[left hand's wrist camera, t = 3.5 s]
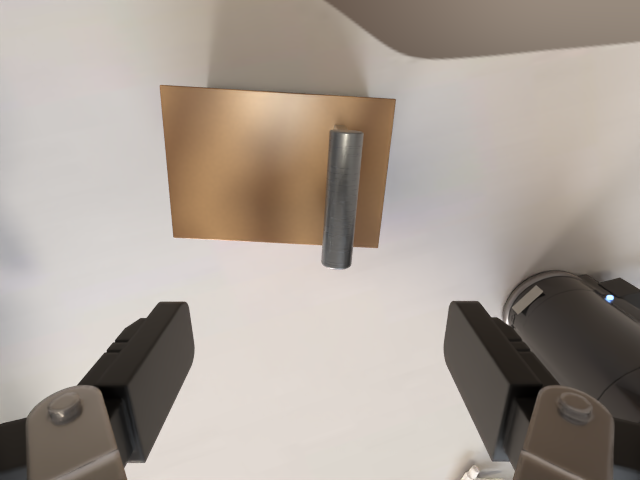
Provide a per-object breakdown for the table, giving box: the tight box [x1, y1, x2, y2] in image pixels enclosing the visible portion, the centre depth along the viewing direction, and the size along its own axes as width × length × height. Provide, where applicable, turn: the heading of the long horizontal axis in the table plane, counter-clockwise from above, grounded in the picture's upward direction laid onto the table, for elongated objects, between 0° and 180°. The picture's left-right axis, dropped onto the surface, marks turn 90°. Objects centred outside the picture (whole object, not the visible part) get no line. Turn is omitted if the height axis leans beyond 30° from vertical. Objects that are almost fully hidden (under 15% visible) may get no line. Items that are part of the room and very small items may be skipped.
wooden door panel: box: [160, 85, 396, 270], centre depth 22 cm, size 15×10×8 cm
